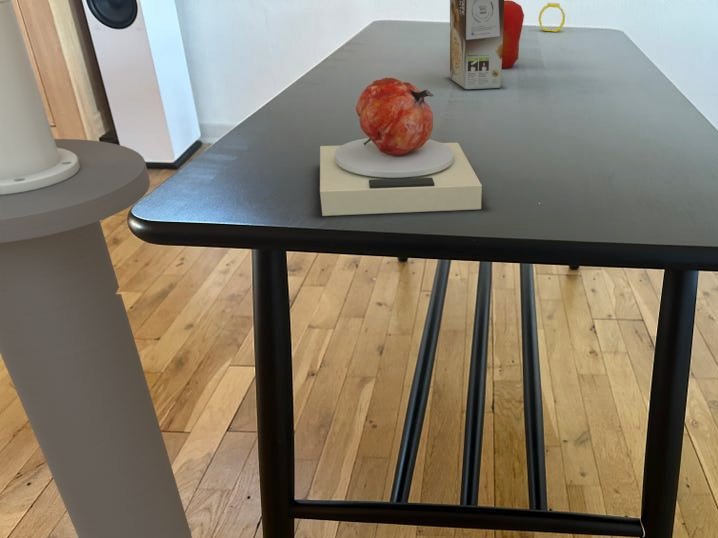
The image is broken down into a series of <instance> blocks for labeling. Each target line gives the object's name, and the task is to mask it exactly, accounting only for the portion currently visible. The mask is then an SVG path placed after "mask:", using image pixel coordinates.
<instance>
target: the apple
mask: <svg viewBox="0 0 718 538" xmlns="http://www.w3.org/2000/svg"><path fill="white" fill-rule="evenodd" d="M524 18H525V14H524V11H523V7H522V5H520V4H519V3H517V2H516V1H513V0H504V24H503V47H502V69H509V68H512V67H513V66H514V65H515V63H516V62H517V61H518V60H519V54H520V53H519V51H520V40H521V35H522V30H523V25H524Z"/></svg>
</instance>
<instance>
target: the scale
mask: <svg viewBox="0 0 718 538" xmlns="http://www.w3.org/2000/svg"><path fill="white" fill-rule="evenodd" d="M368 139H369V137H365V138H359V139H355V140H351V141H349V142H346V143H343V144H342V145H320V146H319V195H320V206H321V213H322V216H323V217H331V216H332V217H333V216H353V215H354V216H355V215H358V216H359V215H379V214H403V213H405V214H406V213H423V212H447V211H449V212H450V211H470V210H475V211H476V210H482V199H483V198H482V194H483V185H482V183H481V181H480V180H479V178H478V176H477V174H476V173H475V171H474V169H473V167H472V165H471V163H470V162H469V160H468V158H467V156H466V154H465V152H464V151H463V149H462V148H461V147H462V146H461V145H460V143H459V142H440V141H437V140H433V139H430V138H429V139H428V140H427V141H426V143H425V144H424V145H423V146H422V147H420V148H418V149H416V150H412V151H409V152H408V153H406V154H404V155H401V156H393V155H388V154H385V153H383V152H381V151H379V149H378V147H377V146H376V145H375V144H374V143H373V142H372V140H371V141H370V142H368V143H367V144H366V145H364V142H366V141H367V140H368Z"/></svg>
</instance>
